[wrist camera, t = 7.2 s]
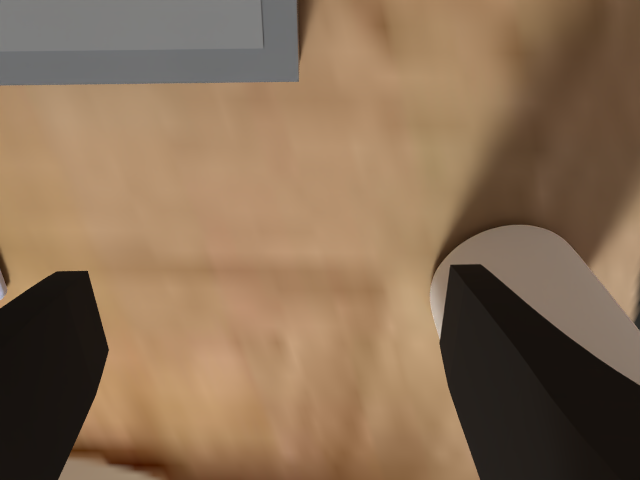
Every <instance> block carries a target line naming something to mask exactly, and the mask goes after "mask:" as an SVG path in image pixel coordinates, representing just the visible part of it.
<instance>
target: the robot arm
mask: <svg viewBox="0 0 640 480" xmlns="http://www.w3.org/2000/svg"><path fill="white" fill-rule="evenodd" d="M6 293H7V287H6V284H5V281H4V278H3V276H2V273H1V270H0V300H1V299H3V297H4V296H5V295H6ZM440 349H441V354H442V359H443V364H444V369H445V374H446V378H447V383H448V387H449V390H450V393H451V397H452V400H453V402H454V405H455V408H456V411H457V414H458V417H459V420H460V423H461V426H462V429H463V432H464V434H465V437H466V440H467V443H468V446H469V449H470V452H471V455H472V457H473V460H474V463H475V466H476V469H477V472H478V475H479V477H480V480H640V385H639V384H637V383H636V382H634V381H632V380H631V379H629V378H628V377H626V376H624V375H623V374H621V373H620V372H618V371H616V370H615V369H613V368H612V367H610V366H609V365H607V364H606V363H604V362H603V361H601V360H600V359H599V358H597V357H596V356H594V355H593V354H592V353H590V352H589V351H588V350H586V349H585V348H583V347H582V346H581V345H579V344H578V343H577V342H575V341H574V340H572V339H571V338H570V337H568V336H567V335H566V334H565V333H563V332H562V331H561V330H559V329H558V328H557V327H555V326H554V325H553V324H552V323H550V322H549V321H548V320H547V319H545V318H544V317H543V316H542V315H541V314H539V313H538V312H537V311H536V310H534V309H533V308H532V307H531V306H530V305H528V304H527V303H526V302H525V301H524V300H523V299H521V298H520V297H519V296H518V295H517V294H516V293H514V292H513V291H512V290H511V289H510V288H509V287H507V286H506V285H505V284H504V283H503V282H502V281H500V280H499V279H498V278H497V277H496V276H495V275H493V274H492V273H491V272H490V271H489V270H488V269H486V268H485V267H484V266H482V265H481V264H457V265H450V270H449V277H448V284H447V292H446V299H445V306H444V314H443V321H442V328H441V336H440ZM108 351H109V349H108V345H107V341H106V337H105V334H104V330H103V326H102V322H101V319H100V315H99V311H98V308H97V304H96V300H95V296H94V293H93V289H92V285H91V282H90V278H89V274H88V271H57V272H55V273H53V274H52V275H50V276H48V277H46V278H45V279H43V280H42V281H40V282H39V283H37V284H36V285H34V286H33V287H31V288H30V289H28V290H27V291H25V292H24V293H22V294H21V295H19V296H18V297H16V298H15V299H13V300H12V301H11V302H9V303H8V304H6V305H5V306H3V307H2V308H0V480H58V478H59V476H60V474H61V472H62V470H63V467H64V465H65V463H66V461H67V459H68V457H69V454H70V452H71V450H72V448H73V446H74V443H75V441H76V439H77V437H78V434H79V432H80V430H81V428H82V426H83V423H84V421H85V419H86V416H87V414H88V412H89V410H90V407H91V405H92V403H93V400H94V398H95V396H96V393H97V390H98V386H99V383H100V380H101V376H102V373H103V369H104V366H105V362H106V358H107V355H108Z"/></svg>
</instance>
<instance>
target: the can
mask: <svg viewBox="0 0 640 480" xmlns="http://www.w3.org/2000/svg"><path fill="white" fill-rule="evenodd" d="M457 264H481V265H482V266H484V267H485V268H486V269H488V270H489V271H490V272H491V273H492V274H493V275H495V276H496V277H497V278H498V279H499V280H500V281H502V282H503V283H504V284H505V285H506V286H507V287H509V288H510V289H511V290H512V291H513V292H514V293H516V294H517V295H518V296H519V297H520V298H521V299H523V300H524V301H525V302H526V303H527V304H528V305H530V306H531V307H532V308H533V309H534V310H536V311H537V312H538V313H539V314H541V315H542V316H543V317H544V318H545V319H547V320H548V321H549V322H550V323H552V324H553V325H554V326H555V327H557V328H558V329H559V330H561V331H562V332H563V333H565V334H566V335H567V336H568V337H570V338H571V339H572V340H574V341H575V342H577V343H578V344H579V345H581V346H582V347H583V348H585V349H586V350H588V351H589V352H590V353H592V354H593V355H594V356H596V357H597V358H599V359H600V360H601V361H603V362H604V363H606V364H607V365H609V366H610V367H612V368H613V369H615V370H616V371H618V372H620V373H621V374H623V375H624V376H626V377H628V378H629V379H631V380H632V381H634V382H636V383H637V384H639V385H640V331H639V329H638V328H637V327H636V326H635V324H634V323H633V322H632V321H631V319H630V318H629V317H628V316H627V314H626V313H625V312H624V311H623V309H622V308H621V307H620V306H619V304H618V303H617V302H616V301H615V299H614V298H613V297H612V296H611V294H610V293H609V292H608V291H607V289H606V288H605V287H604V286H603V284H602V283H601V282H600V281H599V279H598V278H597V277H596V276H595V274H594V273H593V272H592V271H591V269H590V268H589V267H588V266H587V264H586V263H585V262H584V261H583V260H582V258H581V257H580V256H579V255H578V254H577V252H576V251H575V250H574V249H573V248H572V247H571V245H570V244H569V243H568V242H566V241H565V240H564V239H563V238H562V237H560V236H559V235H557V234H556V233H554V232H552V231H549V230H547V229H544V228H541V227H536V226H530V225H508V226H501V227H497V228H493V229H489V230H486V231H484V232H481V233H479V234H477V235H475V236H473V237H471V238H469V239H467V240H466V241H464V242H463V243H461V244H460V245H459V246H457V247H456V248H455V249H454V250H453V251H452V252H451V253H450V254H449V255H448V256H447V257H446V258H445V259H444V260H443V261H442V263H441V264H440V265H439V267H438V268H437V270H436V272H435V274H434V277H433V280H432V283H431V289H430V304H431V310H432V314H433V318H434V322H435V325H436V328H437V332H438V335H439V339H440V336H441V328H442V321H443V314H444V306H445V299H446V292H447V284H448V277H449V270H450V265H457Z"/></svg>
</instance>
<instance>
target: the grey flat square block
mask: <svg viewBox="0 0 640 480" xmlns="http://www.w3.org/2000/svg"><path fill="white" fill-rule="evenodd" d="M299 65H300V57H299V18H298V0H0V85H68V84H146V83H225V82H299Z"/></svg>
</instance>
